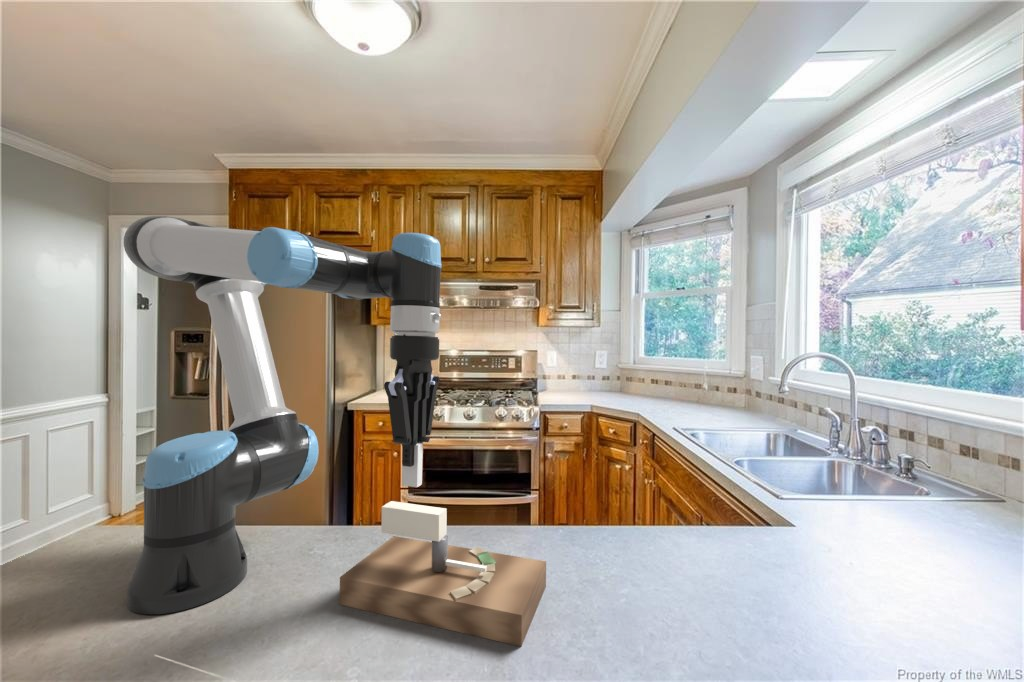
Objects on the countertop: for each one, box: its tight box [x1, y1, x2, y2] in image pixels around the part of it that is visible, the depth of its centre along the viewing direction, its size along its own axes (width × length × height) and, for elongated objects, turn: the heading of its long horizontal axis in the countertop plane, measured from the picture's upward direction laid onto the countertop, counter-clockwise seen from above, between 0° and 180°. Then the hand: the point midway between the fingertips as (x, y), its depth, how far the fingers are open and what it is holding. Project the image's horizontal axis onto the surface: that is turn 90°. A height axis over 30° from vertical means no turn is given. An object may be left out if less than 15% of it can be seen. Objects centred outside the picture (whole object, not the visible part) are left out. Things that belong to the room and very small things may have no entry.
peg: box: [381, 500, 487, 572], centre depth 65 cm, size 17×3×9 cm, turn 73°
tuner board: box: [339, 535, 547, 647], centre depth 65 cm, size 28×14×4 cm, turn 72°
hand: (411, 484), depth 66 cm, fingers closed
